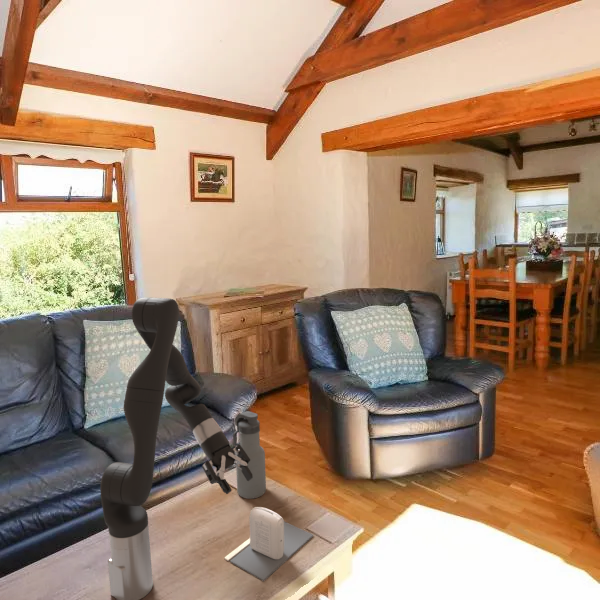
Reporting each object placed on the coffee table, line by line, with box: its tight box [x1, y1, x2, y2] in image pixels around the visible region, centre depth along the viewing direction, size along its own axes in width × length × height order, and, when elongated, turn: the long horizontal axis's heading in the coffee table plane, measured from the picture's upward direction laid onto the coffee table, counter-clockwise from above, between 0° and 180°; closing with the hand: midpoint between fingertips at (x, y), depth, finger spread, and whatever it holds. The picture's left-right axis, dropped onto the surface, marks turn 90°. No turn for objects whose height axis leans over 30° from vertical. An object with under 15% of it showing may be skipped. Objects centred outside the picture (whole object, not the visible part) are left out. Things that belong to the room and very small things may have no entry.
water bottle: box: [232, 410, 267, 500], centre depth 161 cm, size 10×10×28 cm
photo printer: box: [248, 506, 285, 559], centre depth 132 cm, size 10×4×12 cm, turn 57°
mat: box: [224, 520, 314, 582], centre depth 135 cm, size 22×14×1 cm, turn 143°
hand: (240, 485), depth 136 cm, fingers open, 8 cm apart
